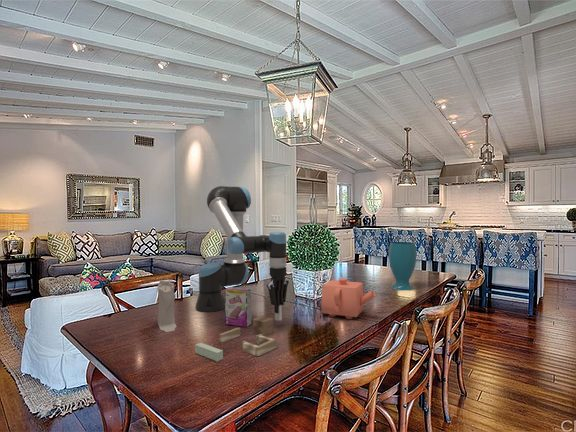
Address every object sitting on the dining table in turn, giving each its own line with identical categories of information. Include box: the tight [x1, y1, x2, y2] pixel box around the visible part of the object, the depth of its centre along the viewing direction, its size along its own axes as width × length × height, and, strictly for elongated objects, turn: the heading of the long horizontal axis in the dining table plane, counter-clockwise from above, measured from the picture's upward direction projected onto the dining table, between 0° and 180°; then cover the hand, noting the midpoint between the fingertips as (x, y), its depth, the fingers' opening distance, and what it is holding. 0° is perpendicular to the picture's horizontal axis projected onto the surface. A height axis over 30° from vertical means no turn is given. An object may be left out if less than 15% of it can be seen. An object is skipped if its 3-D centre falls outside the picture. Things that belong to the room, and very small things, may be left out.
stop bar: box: [194, 342, 224, 362], centre depth 123 cm, size 12×2×3 cm, turn 53°
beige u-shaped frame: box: [219, 327, 277, 357], centre depth 134 cm, size 22×11×3 cm, turn 53°
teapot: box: [320, 277, 377, 320], centre depth 171 cm, size 25×23×18 cm
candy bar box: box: [224, 286, 252, 328], centre depth 157 cm, size 11×5×16 cm, turn 71°
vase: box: [388, 241, 418, 291], centre depth 230 cm, size 17×17×30 cm
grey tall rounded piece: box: [157, 280, 177, 333], centre depth 154 cm, size 7×14×20 cm, turn 27°
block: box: [252, 315, 274, 337], centre depth 147 cm, size 6×6×6 cm
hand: (278, 319), depth 154 cm, fingers closed
